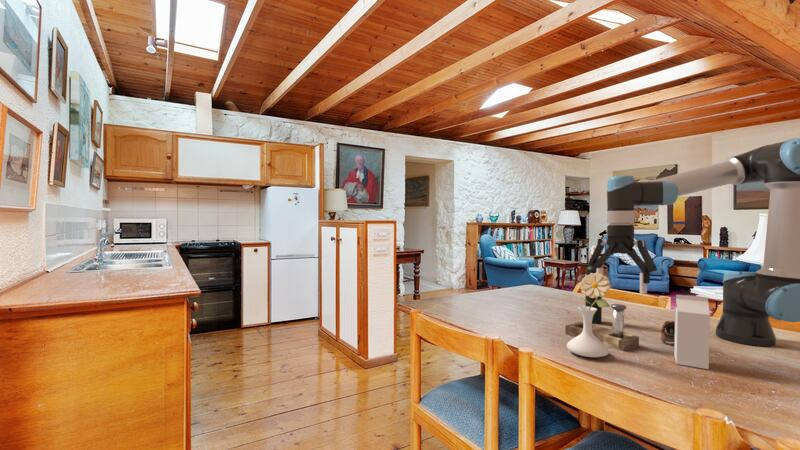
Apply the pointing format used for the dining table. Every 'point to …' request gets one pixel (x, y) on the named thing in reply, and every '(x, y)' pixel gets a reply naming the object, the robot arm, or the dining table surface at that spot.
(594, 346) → the flower in vase
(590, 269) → the wine bottle
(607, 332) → the wooden compartment tray
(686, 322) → the milk carton
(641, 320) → the dining table surface
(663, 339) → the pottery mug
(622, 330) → the steel pin
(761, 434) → the dining table surface
